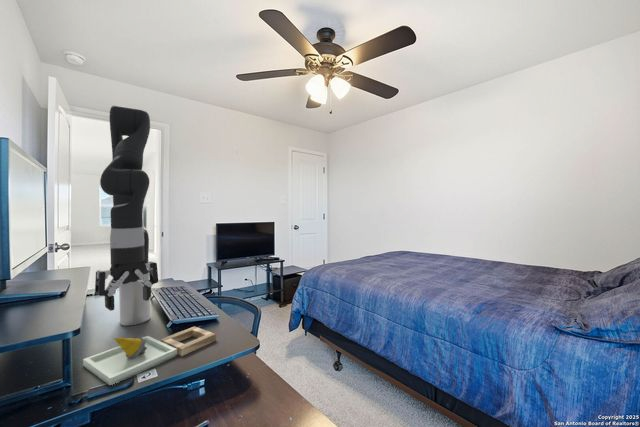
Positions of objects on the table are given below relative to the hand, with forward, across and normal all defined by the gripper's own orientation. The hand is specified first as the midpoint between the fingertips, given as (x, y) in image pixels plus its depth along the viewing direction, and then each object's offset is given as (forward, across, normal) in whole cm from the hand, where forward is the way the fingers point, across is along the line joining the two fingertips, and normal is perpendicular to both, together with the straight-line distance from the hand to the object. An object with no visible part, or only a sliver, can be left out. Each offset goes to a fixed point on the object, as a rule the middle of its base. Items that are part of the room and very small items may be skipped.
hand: (129, 304), depth 77 cm
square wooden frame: (+15, -14, +4) cm, 21 cm away
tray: (+15, 0, +1) cm, 15 cm away
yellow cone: (+15, 0, +1) cm, 15 cm away
